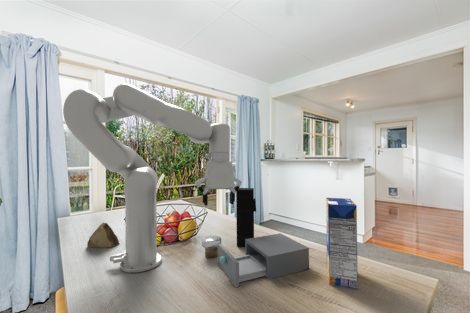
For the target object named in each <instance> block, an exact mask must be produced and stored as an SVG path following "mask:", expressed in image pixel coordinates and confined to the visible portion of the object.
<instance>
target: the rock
mask: <svg viewBox="0 0 470 313" xmlns="http://www.w3.org/2000/svg"><path fill="white" fill-rule="evenodd" d="M118 238H119V237H118V236H117V234H115V232H114V231H113V229H112V227H111V226H110V225H109V224H108V223H107V222H101V224H99V226H98V227H97V228H96V229H95V231H93V233H92V234H91V235H90V236H89V239H88V241H87V243H86V244H87V245H86V246H87V248H88V247H89V248H112V247H116V246H119V245H120V244H121V243H120V240H119V239H118Z"/></svg>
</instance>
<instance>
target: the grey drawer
mask: <svg viewBox="0 0 470 313" xmlns="http://www.w3.org/2000/svg"><path fill="white" fill-rule="evenodd" d="M217 264H218V266H219V267H220V269H221V270H222V271H223V272H224V274H225V275H226V277H227V278H228V279H229V280H230V281H231V283H232V284H233V285H234V287H235V288H237V287H240V283H241V282H247V281H250V280H253V279H258V278H261V277H267V259H266V258H265V257H264V256H261V255H260V254H256V255H251V254H249V255H239V256H233V254H232V253H231V252H229V250H227V248H225V247H224V245H222V243H221V244H218V257H217Z"/></svg>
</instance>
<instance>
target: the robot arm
mask: <svg viewBox="0 0 470 313" xmlns="http://www.w3.org/2000/svg"><path fill="white" fill-rule="evenodd" d="M62 107H63V109H62V111H63V112H62V113H63V114H62V115H63V118H64V123H65V124H66V126H67V128H68V130H69V131H70V132H71V134H72V135H73V136H74V137H75V138H76V139H77V140H78V141H79V142H80V143H81V144H82V145H83V146H84V147H85V148H86V149H87V150H88V151H89V153H91V155H93V157H95V159H96V160H97V161H98V162H99V163H100V164H102V166H103V167H104V168H105V169H106V170H107V171H110V172H112V173H118V174H119V176H121V177H122V178H123V179H124V183H123V184H124V185H123V194H124V207H125V209H124V210H125V216H124V217H125V249H124V252H122V251H121V253H118V254H117V253H116V254H110V255H109V262H112V263H113V264H118V263H119V268H120V270H121V271H123V272H125V273H132V274H134V273H141V272H146V271H149V270H152V269H154V268H156V267H157V266H159V265H160V264H161V263H162V257H163V256H162V255H161V253H158V252H157V247H158V246H157V242H158V239H157V237H158V236H157V234H158V232H157V226H158V225H157V224H158V222H157V217H158V216H157V213H158V212H157V206H158V205H157V202H158V201H157V186H158V182H159V178H158V174H157V173H156V171H155V170H154V168H152V167H151V166H150V165H149V163H148V162H146V161H145V160H144V158H142V157H141V155H139V154H138V152H136V150H134V149H133V148H132V147H131V146H128V145H125V144H124V143H122V141H120V140H119V139H118V138H117V137H116V136H115V135H114V134H113V133H112V132H111V130H109V129H108V128H107V127H106V126H105V125H104V123H108V122H113V121H117V120H120V119H125V118H128V117H133V116H136V117H138V118H139V119H142V120H144V121H146V122H148V123H151V124H153V125H155V126H158V127H161V128H162V127H163V128H169V129H172V130H174V131H177V133H180V134H182V135H184V136H187V137H188V139H189V140H190V142H192V143H193V144H197V145H199V144H209V147H208V148H209V149H208V153H205V155H204V157H205V159H208V161H206V162H207V163H206V167H205V175H204V177H202V178H200V179H198V180H195V182H194V183H195V186H196V188H197V190H198V191H199V192H201V193H202V204H204V206H205V207H206V206H208V202H209V201H208V197H209V194H208V192H210V190H229V195H228V196H229V198H228V199H229V200H228V202H229V204H230V205H234V202H235V200H236V199H235V198H236V197H235V196H236V191H237V190H238V189H239V188H241V185H242V184H243V182H242V180H240V179H238V178H236V177H235V176H234V175H235V174H234V165H233V162H232V161H231V160H230V157H231V156H230V154H231V150H230V148H231V128H230V126H229V124H227V123H223V122H222V123H220V122H219V123H212V124H210V123H209V122H208V121H207V120H206V119H205V118H203V117H201V116H199V115H197V114H196V113H193V112H191V111H189V110H187V109H185V108H182V107H179V106H177V105H174V104H171V103H168V102H166V101H163V100H162V99H159V98H158V97H156V96H154V95H152V94H150V93H148V92H146V91H144V90H142V89H140V88H138V87H136V86H135V85H132V84H129V83H120V84H118V85H117V86H116V87H115V88H114V90H113V93H112V96H107V97H101V96H100V95H98V94H97V93H95V92H94V91H91V90H88V89H81V88H80V89H75V90H73V91H71V92H70V93H69V94H68V95H67V97H66V99H65V100H64V103H63V106H62ZM202 183H204V187H202V186H201V184H202ZM235 183H236V185H235Z"/></svg>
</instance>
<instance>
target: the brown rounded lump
mask: <svg viewBox="0 0 470 313" xmlns="http://www.w3.org/2000/svg"><path fill="white" fill-rule="evenodd" d="M204 256H205V258H206V259H209V260H210V259H211V260H213V259H218V247H217V248H212V249H209V248H204Z"/></svg>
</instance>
